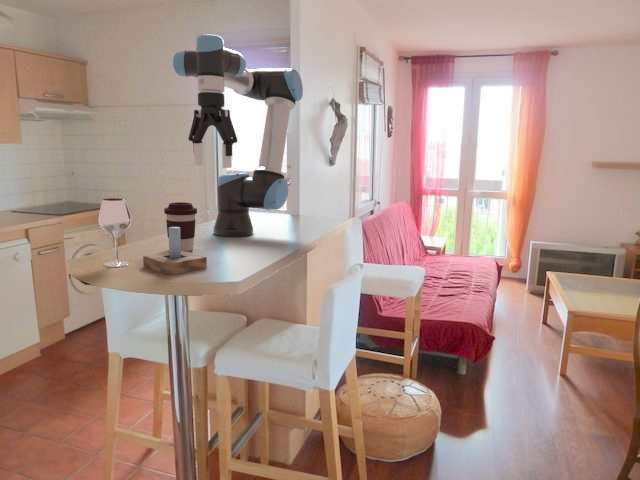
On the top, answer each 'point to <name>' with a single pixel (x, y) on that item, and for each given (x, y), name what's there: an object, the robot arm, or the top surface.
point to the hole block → (174, 262)
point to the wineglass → (114, 223)
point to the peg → (174, 243)
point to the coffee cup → (182, 222)
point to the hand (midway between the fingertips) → (212, 166)
